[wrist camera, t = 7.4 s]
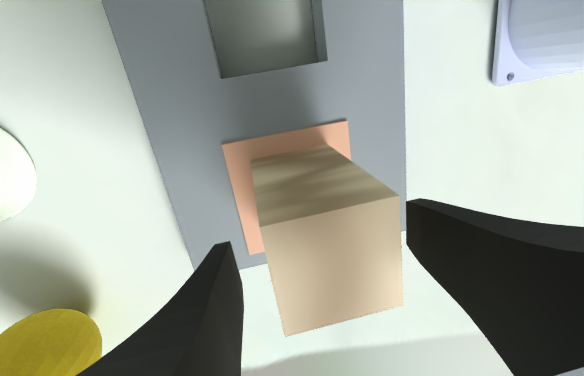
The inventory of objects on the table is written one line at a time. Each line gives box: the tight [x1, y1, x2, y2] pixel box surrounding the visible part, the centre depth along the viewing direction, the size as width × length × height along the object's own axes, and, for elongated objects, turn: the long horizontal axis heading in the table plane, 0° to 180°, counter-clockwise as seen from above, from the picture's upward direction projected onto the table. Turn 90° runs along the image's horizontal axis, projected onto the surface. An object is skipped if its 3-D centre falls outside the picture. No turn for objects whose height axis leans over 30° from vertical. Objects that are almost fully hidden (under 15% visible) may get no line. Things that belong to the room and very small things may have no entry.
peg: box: [250, 144, 403, 337], centre depth 13 cm, size 4×4×8 cm
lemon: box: [0, 308, 102, 376], centre depth 16 cm, size 6×6×8 cm
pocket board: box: [102, 0, 406, 271], centre depth 16 cm, size 14×18×2 cm
